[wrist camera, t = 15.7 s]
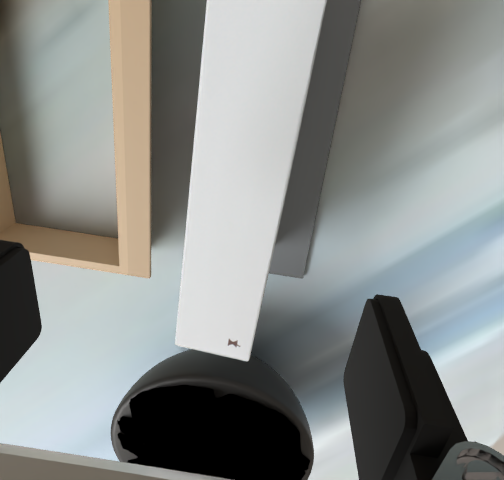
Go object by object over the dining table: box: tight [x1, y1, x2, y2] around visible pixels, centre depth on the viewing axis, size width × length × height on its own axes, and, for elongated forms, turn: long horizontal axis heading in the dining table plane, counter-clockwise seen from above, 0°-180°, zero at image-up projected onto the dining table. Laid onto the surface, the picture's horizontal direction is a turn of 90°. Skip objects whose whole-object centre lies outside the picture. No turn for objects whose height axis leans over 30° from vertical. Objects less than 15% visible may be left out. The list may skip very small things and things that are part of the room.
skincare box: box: [175, 0, 327, 361], centre depth 26 cm, size 21×6×16 cm, turn 171°
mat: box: [269, 0, 361, 278], centre depth 34 cm, size 27×11×1 cm, turn 173°
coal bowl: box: [111, 349, 314, 480], centre depth 39 cm, size 20×20×19 cm
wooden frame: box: [0, 0, 152, 278], centre depth 32 cm, size 27×19×5 cm
